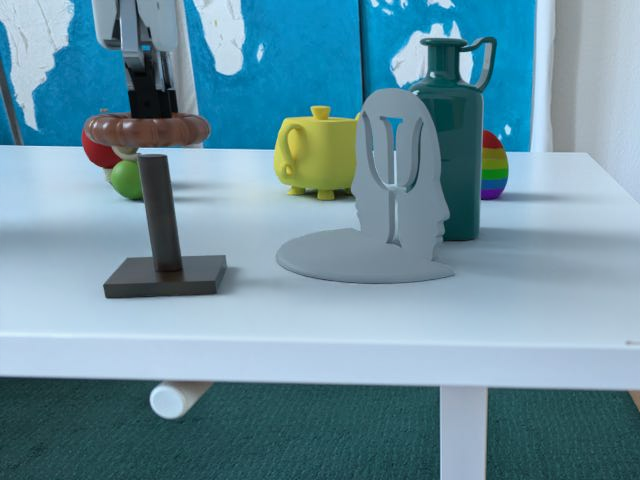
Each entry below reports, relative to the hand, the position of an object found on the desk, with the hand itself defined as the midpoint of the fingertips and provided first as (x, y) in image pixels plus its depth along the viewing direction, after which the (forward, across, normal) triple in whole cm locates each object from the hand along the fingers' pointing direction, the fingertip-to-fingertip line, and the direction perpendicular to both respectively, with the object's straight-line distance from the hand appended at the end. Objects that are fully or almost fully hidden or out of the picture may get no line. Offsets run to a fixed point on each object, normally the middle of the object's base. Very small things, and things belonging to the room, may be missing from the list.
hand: (158, 135), depth 63 cm
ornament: (+13, -2, +16) cm, 21 cm away
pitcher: (+13, -13, +29) cm, 34 cm away
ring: (-1, +4, 0) cm, 4 cm away
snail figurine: (+13, -39, -12) cm, 43 cm away
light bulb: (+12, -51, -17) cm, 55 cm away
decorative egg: (+13, -38, +39) cm, 56 cm away
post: (+12, +4, 0) cm, 13 cm away
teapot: (+13, -43, +16) cm, 48 cm away
